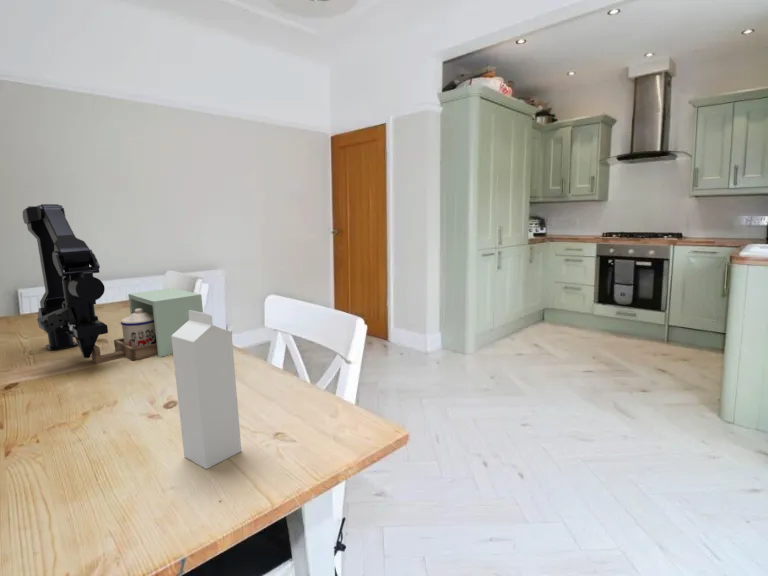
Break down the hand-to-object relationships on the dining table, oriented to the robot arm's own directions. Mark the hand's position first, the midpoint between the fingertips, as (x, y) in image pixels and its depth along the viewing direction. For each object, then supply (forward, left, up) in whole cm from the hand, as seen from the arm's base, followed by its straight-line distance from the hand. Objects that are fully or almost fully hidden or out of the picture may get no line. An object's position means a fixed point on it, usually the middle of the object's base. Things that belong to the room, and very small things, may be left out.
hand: (86, 357), depth 110 cm
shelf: (0, +20, -2) cm, 20 cm away
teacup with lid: (0, +15, -2) cm, 15 cm away
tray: (0, +13, -2) cm, 13 cm away
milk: (+66, 0, -2) cm, 66 cm away
